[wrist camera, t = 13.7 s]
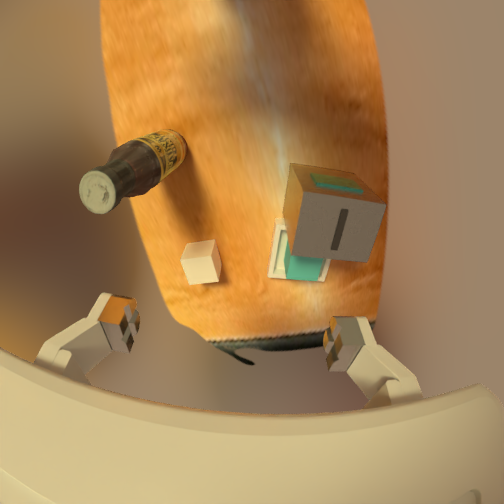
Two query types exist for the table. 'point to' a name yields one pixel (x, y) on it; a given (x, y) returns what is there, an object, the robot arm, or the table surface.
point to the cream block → (201, 262)
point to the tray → (278, 253)
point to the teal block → (301, 266)
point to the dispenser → (330, 214)
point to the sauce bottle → (132, 170)
